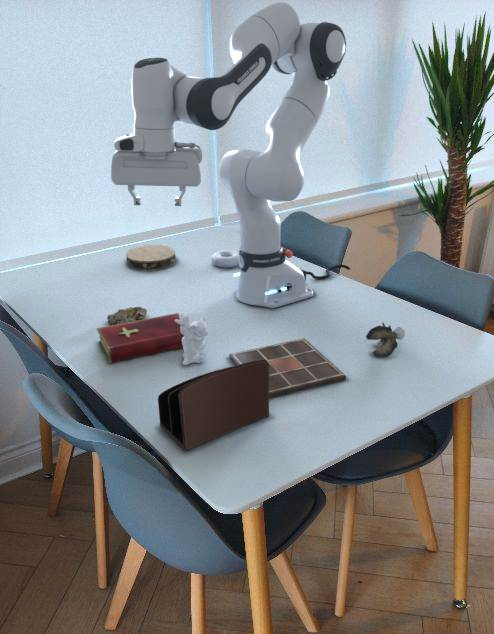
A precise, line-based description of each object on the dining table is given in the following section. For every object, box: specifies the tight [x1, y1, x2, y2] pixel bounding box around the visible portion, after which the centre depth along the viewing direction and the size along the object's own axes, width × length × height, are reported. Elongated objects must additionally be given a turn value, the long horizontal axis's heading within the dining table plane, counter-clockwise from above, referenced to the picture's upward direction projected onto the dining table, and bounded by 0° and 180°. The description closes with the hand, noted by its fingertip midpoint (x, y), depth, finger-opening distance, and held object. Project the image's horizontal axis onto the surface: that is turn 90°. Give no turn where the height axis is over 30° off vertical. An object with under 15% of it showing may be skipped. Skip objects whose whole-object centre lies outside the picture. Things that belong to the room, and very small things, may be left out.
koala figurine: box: [175, 312, 209, 366], centre depth 139 cm, size 8×7×12 cm
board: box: [228, 337, 347, 399], centre depth 139 cm, size 20×20×1 cm
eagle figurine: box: [365, 321, 406, 358], centre depth 145 cm, size 8×7×9 cm
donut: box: [211, 249, 239, 269], centre depth 196 cm, size 10×4×10 cm
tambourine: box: [125, 244, 177, 271], centre depth 198 cm, size 16×16×3 cm
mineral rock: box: [106, 306, 148, 325], centre depth 161 cm, size 11×4×8 cm
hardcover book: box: [96, 312, 184, 364], centre depth 148 cm, size 12×21×4 cm, turn 115°
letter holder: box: [157, 359, 270, 452], centre depth 117 cm, size 10×20×14 cm, turn 126°
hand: (157, 205), depth 141 cm, fingers open, 8 cm apart
